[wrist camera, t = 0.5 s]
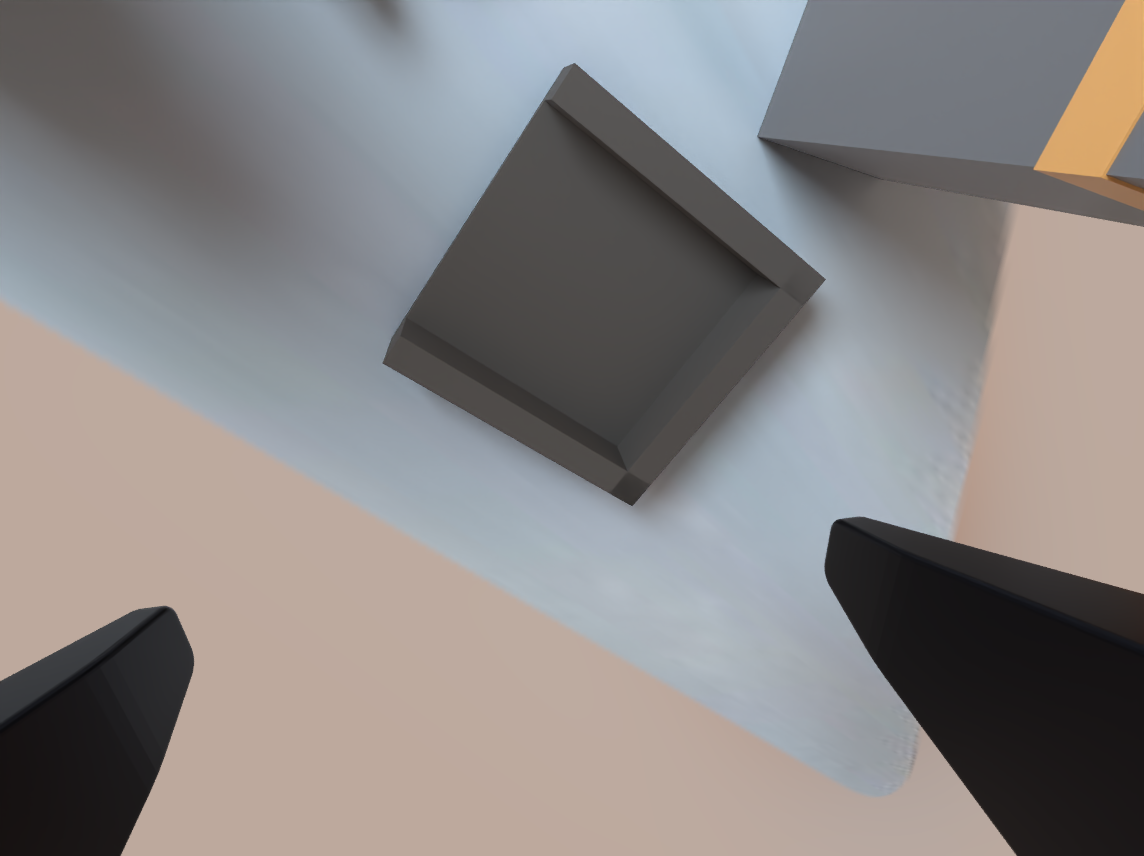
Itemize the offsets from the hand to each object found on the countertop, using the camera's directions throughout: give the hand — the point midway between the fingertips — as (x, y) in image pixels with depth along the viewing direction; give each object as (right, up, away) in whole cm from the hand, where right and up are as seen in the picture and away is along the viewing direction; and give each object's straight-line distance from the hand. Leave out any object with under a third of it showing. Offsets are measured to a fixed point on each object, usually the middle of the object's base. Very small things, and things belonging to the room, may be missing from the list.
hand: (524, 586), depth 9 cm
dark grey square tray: (+1, +6, +12) cm, 14 cm away
